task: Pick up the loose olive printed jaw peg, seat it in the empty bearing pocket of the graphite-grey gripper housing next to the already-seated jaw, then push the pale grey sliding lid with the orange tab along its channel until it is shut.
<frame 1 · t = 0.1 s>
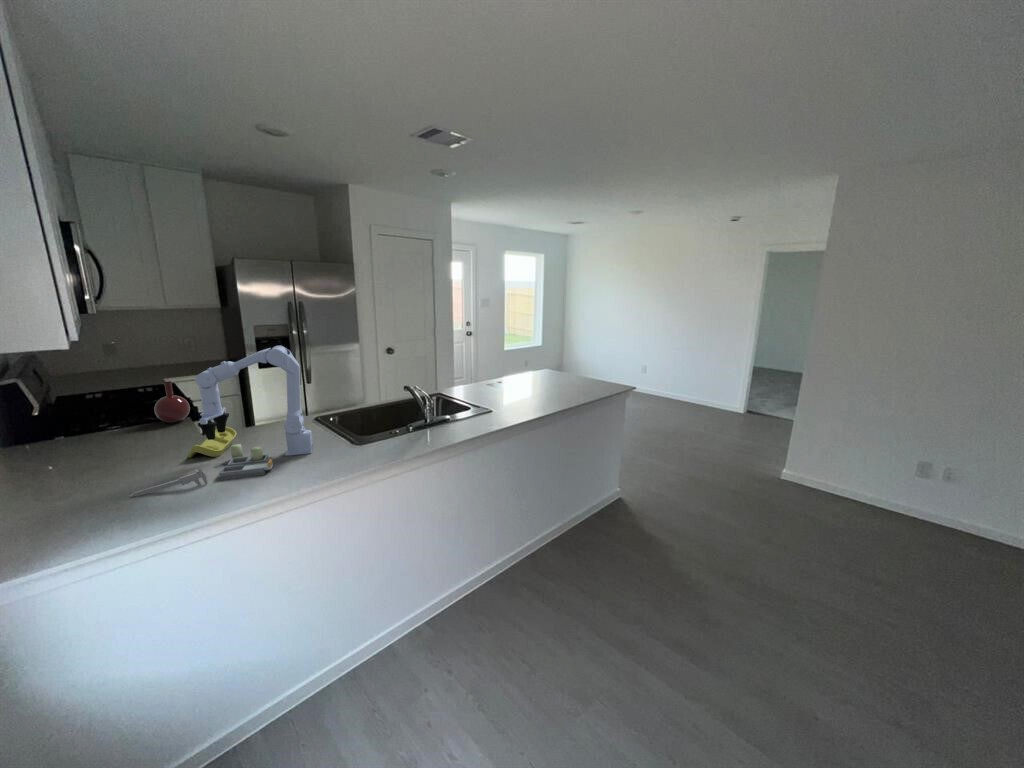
hand: (216, 435, 154), 10 cm above the counter, fingers open, 7 cm apart
housing: (247, 468, 149), on the counter
lid: (257, 465, 146), point 3 cm above the counter, slide at -6.0 cm
round-bottom flask: (174, 422, 195), on the counter
plastic component: (216, 449, 166), on the counter
jaw peg: (237, 458, 157), on the counter
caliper: (170, 491, 133), on the counter
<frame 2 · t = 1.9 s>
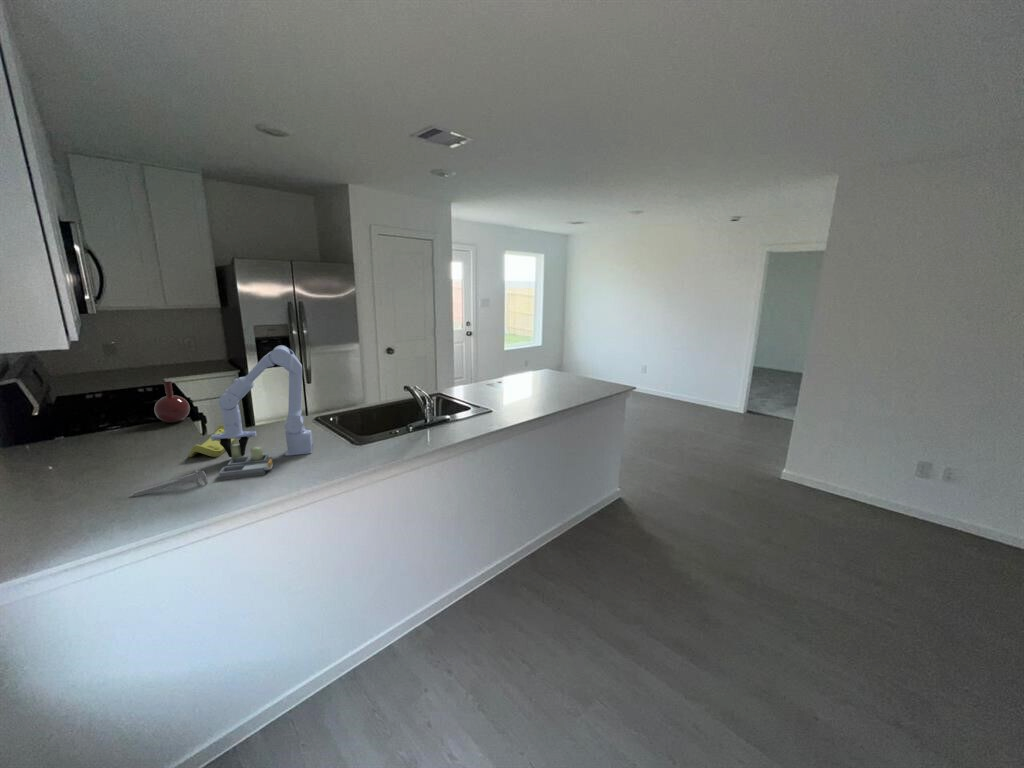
hand: (237, 455, 157), 1 cm above the counter, fingers closed on jaw peg, 4 cm apart
jaw peg: (237, 458, 157), on the counter, touching gripper
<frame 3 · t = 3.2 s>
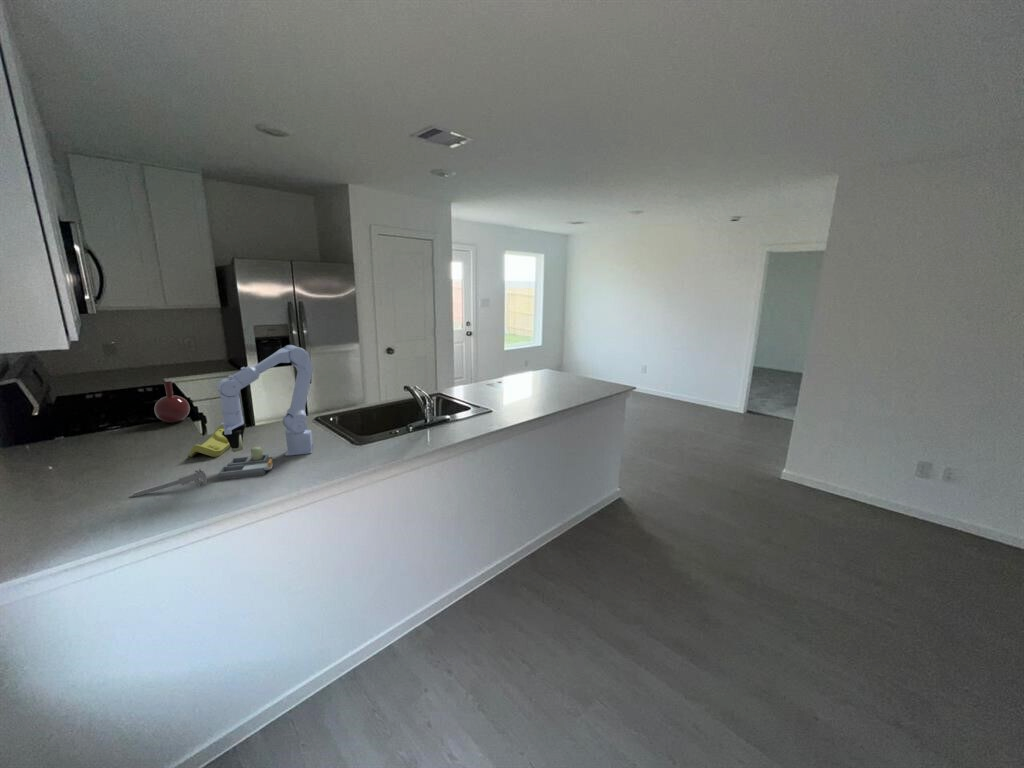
hand: (237, 445, 149), 8 cm above the counter, fingers closed on jaw peg, 4 cm apart
jaw peg: (237, 449, 149), point 7 cm above the counter, touching gripper
everything else where it was.
when the fingers open (4 cm above the counter, at t = 4.5 s): jaw peg stays where it is, resting on housing.
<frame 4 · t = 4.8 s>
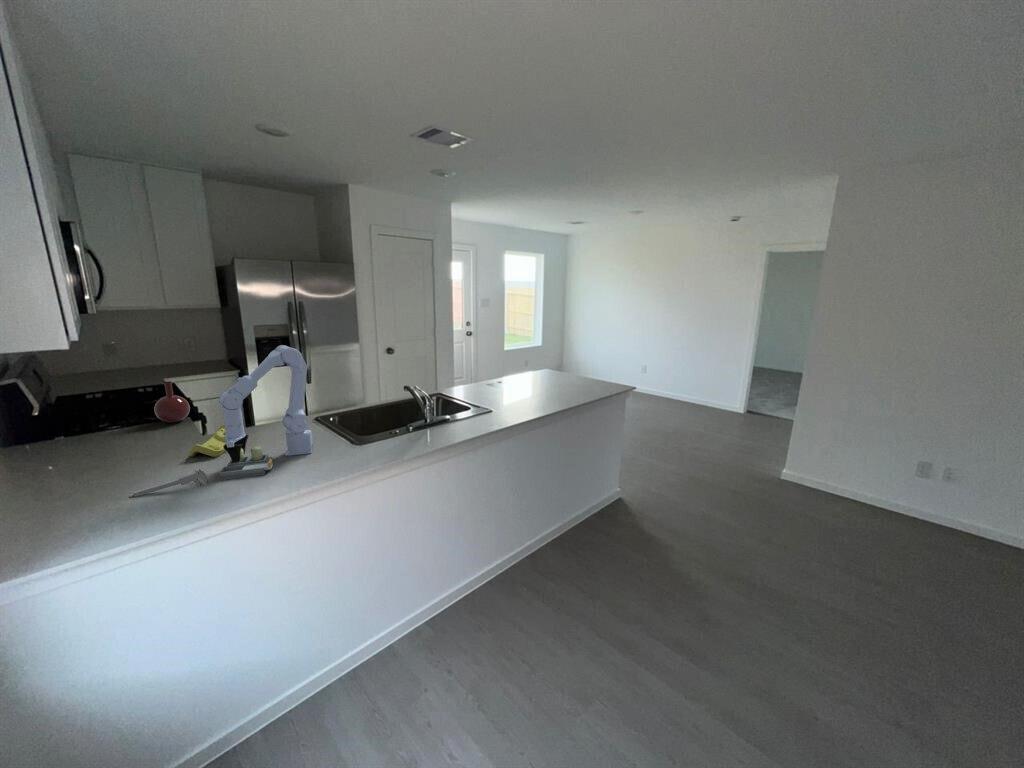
hand: (238, 458, 150), 4 cm above the counter, fingers open, 6 cm apart
jaw peg: (239, 463, 150), point 1 cm above the counter, touching housing
everything else where it was.
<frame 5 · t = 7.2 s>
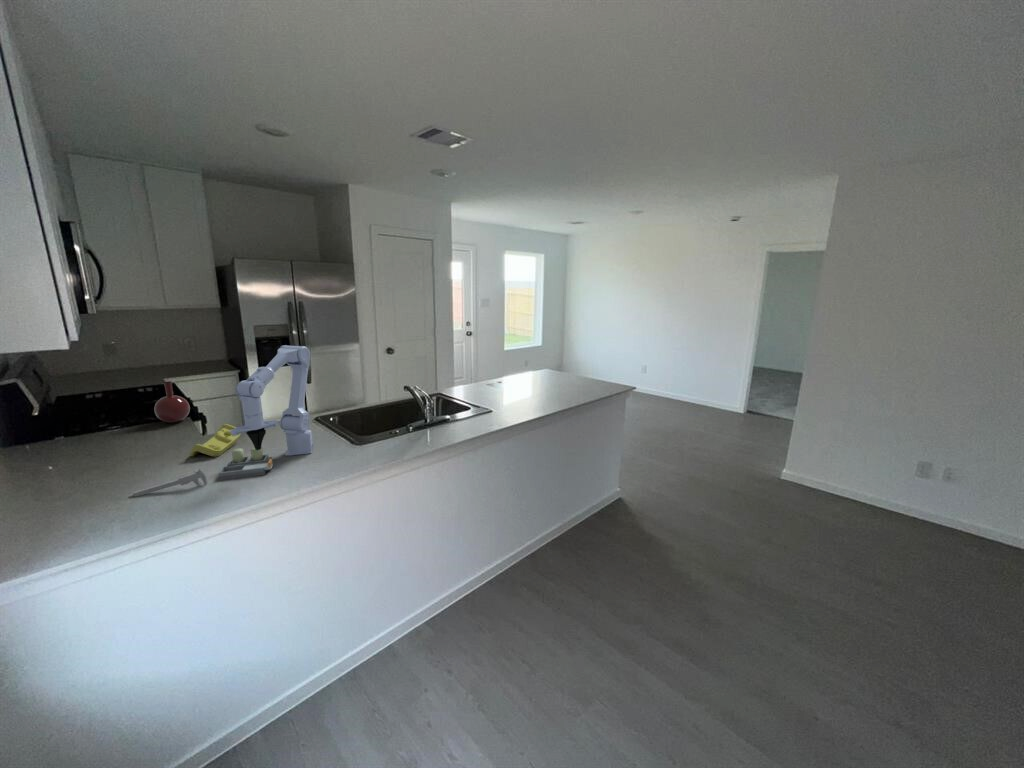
hand: (258, 449, 145), 9 cm above the counter, fingers closed
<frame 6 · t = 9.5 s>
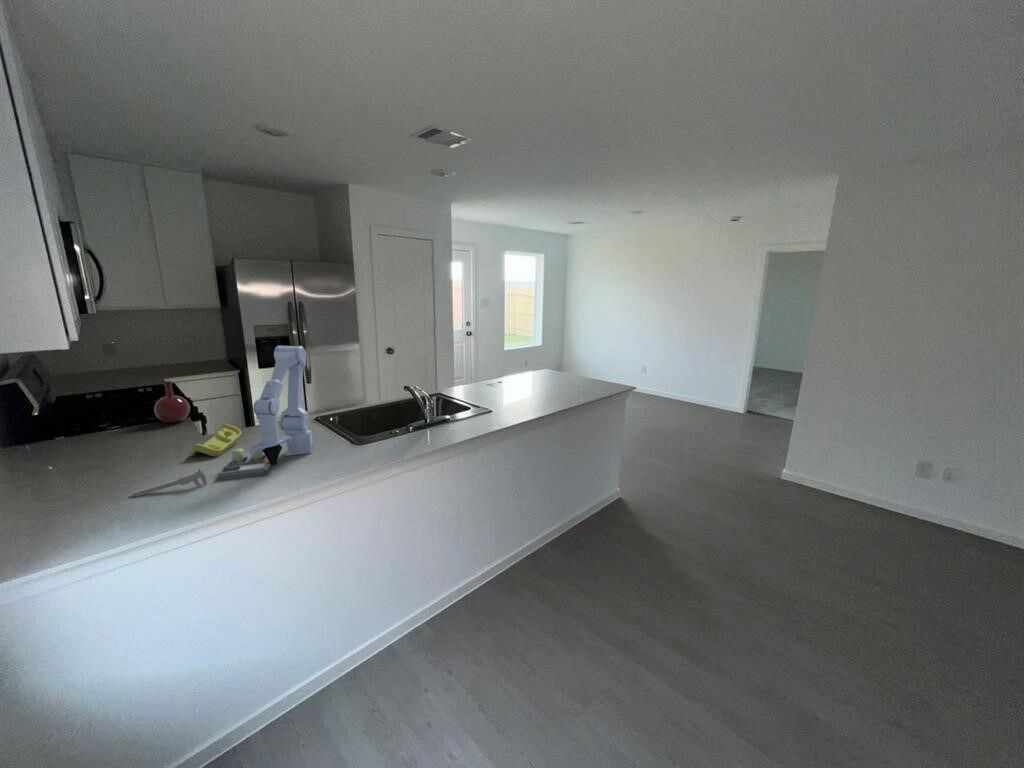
hand: (273, 464, 148), 2 cm above the counter, fingers closed
lid: (254, 465, 146), point 3 cm above the counter, slide at -4.9 cm, touching gripper
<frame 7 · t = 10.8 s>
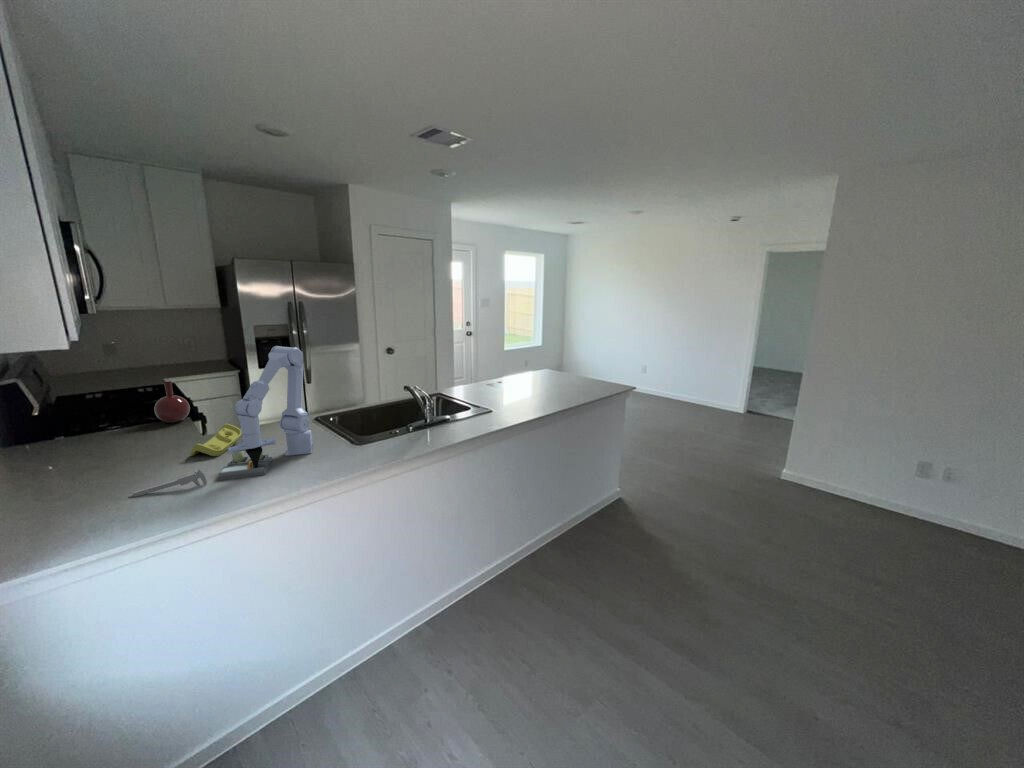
hand: (255, 466, 146), 2 cm above the counter, fingers closed
lid: (237, 467, 144), point 3 cm above the counter, slide at 0.4 cm, touching gripper, housing
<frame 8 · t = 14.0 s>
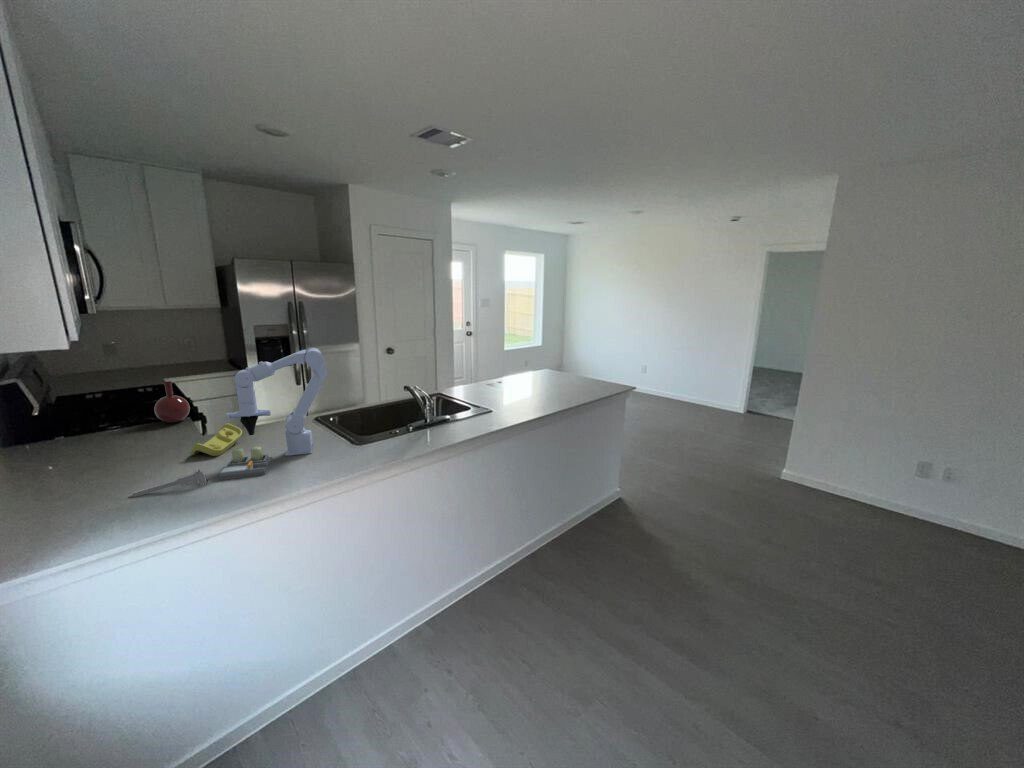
hand: (251, 434, 156), 10 cm above the counter, fingers closed
lid: (237, 467, 144), point 3 cm above the counter, slide at 0.4 cm, touching housing
at the end: jaw peg 0.1 cm from the target spot on the housing, point 1.2 cm above the housing's base; jaw peg tilted 0°; lid slide at 0.4 cm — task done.
